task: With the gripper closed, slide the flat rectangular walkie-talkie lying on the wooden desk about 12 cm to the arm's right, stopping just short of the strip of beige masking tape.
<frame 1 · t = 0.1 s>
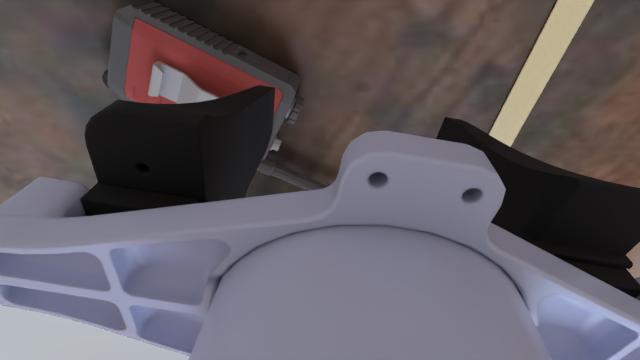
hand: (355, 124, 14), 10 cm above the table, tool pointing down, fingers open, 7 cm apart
tape line: (493, 151, 25), on the table
walkie-talkie: (252, 108, 25), on the table
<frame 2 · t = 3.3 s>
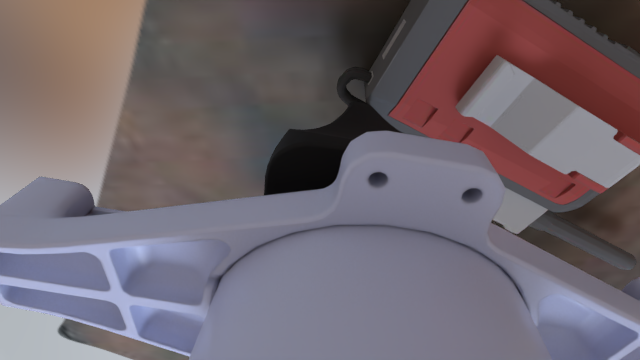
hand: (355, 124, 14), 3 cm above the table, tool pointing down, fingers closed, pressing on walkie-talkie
walkie-talkie: (532, 131, 16), on the table, touching gripper
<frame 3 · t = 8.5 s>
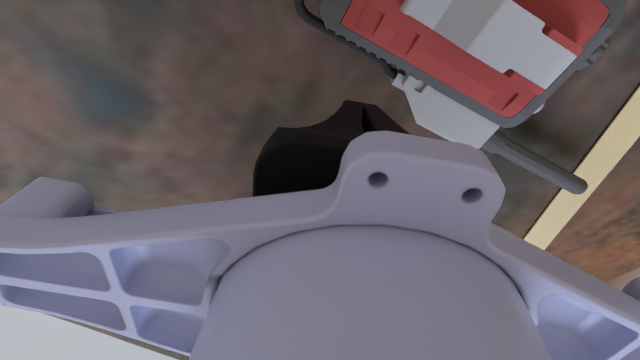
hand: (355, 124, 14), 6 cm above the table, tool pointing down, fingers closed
tape line: (626, 126, 18), on the table
walkie-talkie: (485, 54, 17), on the table
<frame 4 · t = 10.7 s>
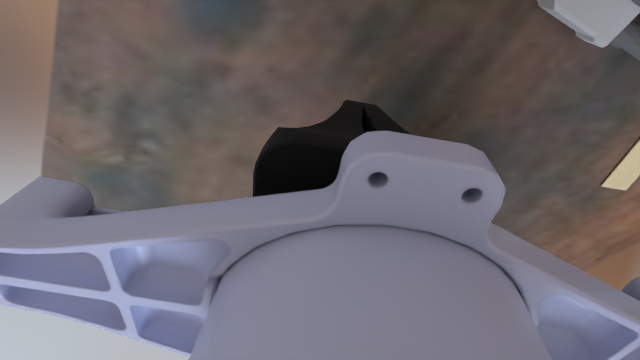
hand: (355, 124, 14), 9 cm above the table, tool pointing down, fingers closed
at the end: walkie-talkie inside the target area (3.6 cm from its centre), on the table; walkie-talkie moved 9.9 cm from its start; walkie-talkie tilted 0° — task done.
